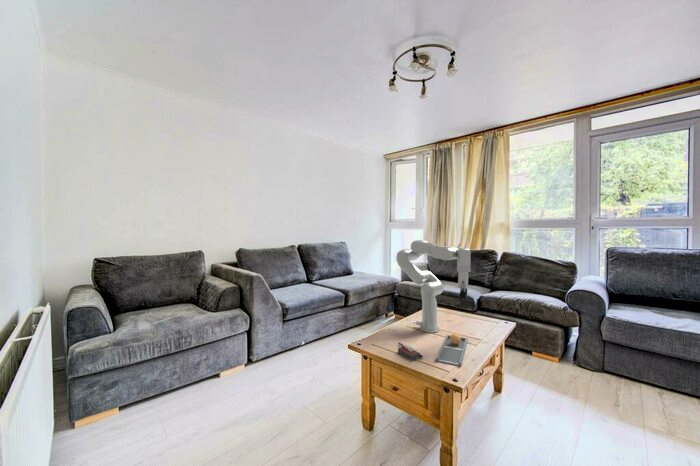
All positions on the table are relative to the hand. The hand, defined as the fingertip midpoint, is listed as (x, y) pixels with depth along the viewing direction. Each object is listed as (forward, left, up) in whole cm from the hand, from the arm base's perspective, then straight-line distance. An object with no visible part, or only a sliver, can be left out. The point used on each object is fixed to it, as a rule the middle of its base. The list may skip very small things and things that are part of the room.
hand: (463, 296), depth 175 cm
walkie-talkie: (-26, -33, -27) cm, 50 cm away
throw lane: (-3, -19, -26) cm, 33 cm away
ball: (-3, -11, -23) cm, 26 cm away
